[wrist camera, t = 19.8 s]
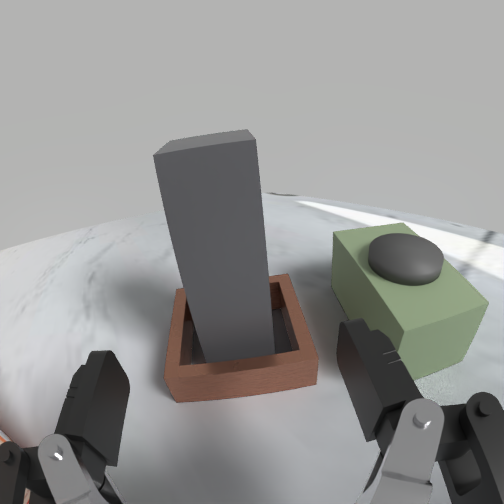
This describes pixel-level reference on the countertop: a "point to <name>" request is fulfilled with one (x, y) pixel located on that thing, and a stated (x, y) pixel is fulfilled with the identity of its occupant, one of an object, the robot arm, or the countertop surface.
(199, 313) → the block
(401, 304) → the green block with knob
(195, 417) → the countertop surface
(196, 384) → the collar
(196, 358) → the countertop surface
